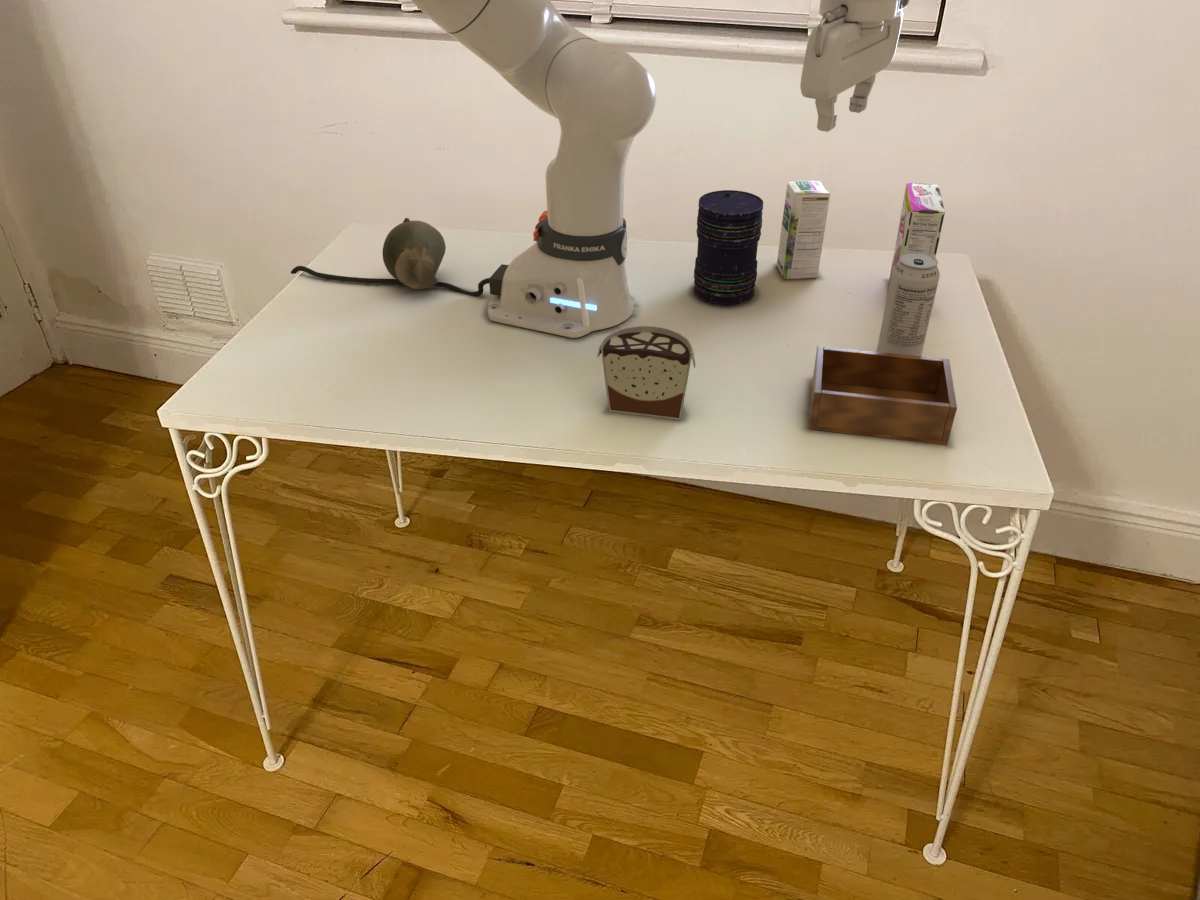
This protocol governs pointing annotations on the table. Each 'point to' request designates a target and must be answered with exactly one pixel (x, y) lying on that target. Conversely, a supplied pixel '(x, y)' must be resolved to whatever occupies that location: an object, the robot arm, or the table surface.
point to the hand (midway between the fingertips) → (841, 120)
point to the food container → (646, 371)
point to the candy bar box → (919, 221)
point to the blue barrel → (727, 247)
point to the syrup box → (802, 229)
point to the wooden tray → (882, 395)
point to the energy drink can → (909, 304)
